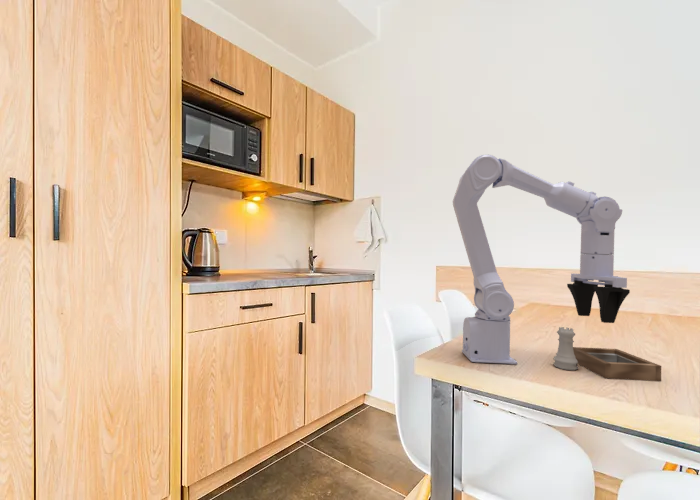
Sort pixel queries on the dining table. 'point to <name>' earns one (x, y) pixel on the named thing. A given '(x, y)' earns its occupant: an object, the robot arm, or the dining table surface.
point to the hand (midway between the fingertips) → (595, 319)
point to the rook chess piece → (565, 350)
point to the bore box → (617, 364)
